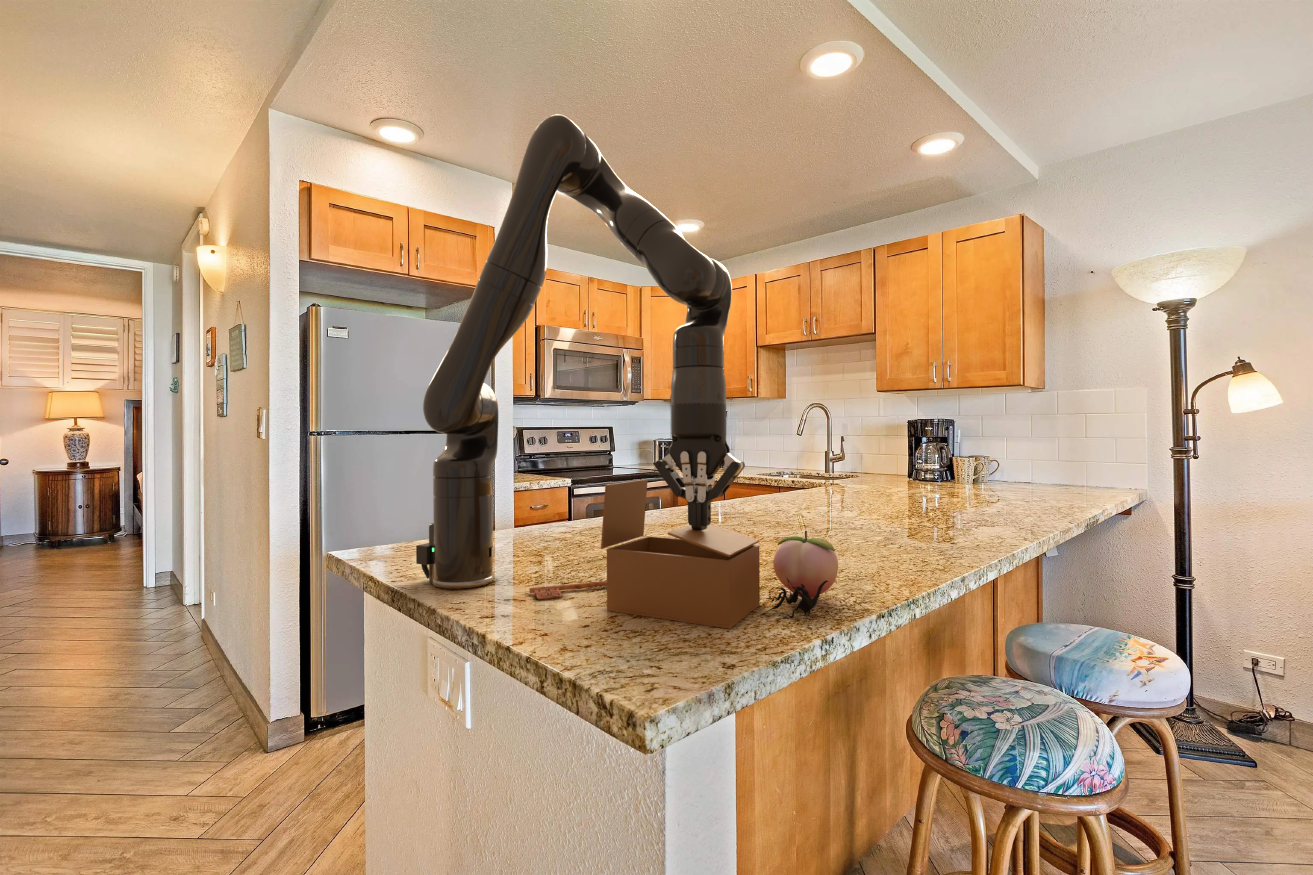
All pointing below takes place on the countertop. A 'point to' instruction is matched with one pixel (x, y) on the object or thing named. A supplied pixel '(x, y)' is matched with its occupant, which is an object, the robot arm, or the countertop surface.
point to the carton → (672, 569)
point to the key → (555, 591)
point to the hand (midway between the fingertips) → (699, 529)
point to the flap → (715, 539)
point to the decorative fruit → (806, 563)
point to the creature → (805, 602)
